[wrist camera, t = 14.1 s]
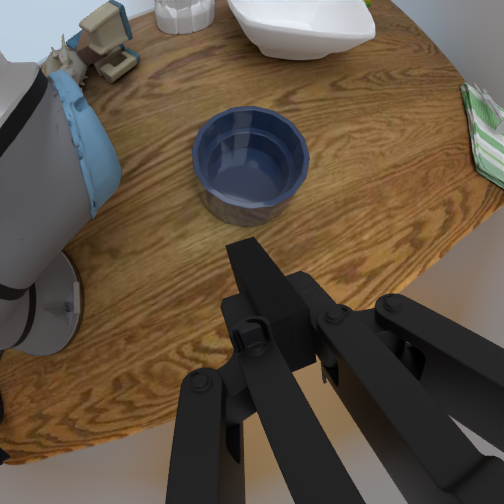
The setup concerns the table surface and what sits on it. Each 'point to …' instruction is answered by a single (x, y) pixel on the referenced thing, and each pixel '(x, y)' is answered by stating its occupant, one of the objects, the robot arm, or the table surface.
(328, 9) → the bowl
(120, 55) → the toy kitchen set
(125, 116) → the table surface
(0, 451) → the dark blue bag
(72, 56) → the seashell
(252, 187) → the glazed bowl
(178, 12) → the decorative vase
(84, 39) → the wooden block
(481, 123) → the dish towel
